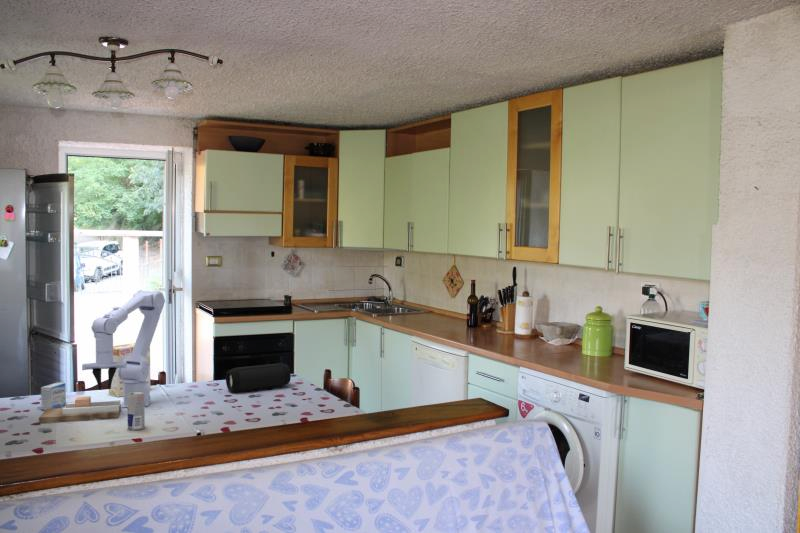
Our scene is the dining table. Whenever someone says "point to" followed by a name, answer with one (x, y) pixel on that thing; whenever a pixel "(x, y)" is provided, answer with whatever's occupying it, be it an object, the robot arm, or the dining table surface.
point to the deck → (74, 416)
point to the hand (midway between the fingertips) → (104, 388)
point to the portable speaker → (258, 377)
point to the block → (83, 401)
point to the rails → (92, 407)
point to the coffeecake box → (118, 356)
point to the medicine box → (53, 396)
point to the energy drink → (136, 410)
